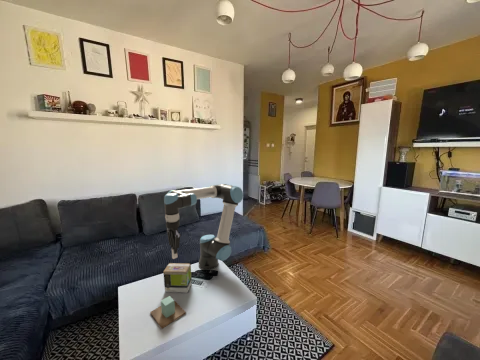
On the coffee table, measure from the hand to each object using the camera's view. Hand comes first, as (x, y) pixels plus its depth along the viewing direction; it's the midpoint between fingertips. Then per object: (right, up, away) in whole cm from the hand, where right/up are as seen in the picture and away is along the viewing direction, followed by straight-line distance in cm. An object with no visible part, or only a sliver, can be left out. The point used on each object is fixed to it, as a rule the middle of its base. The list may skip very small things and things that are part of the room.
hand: (174, 257), depth 124 cm
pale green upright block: (-1, -27, -8) cm, 29 cm away
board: (-1, -28, -8) cm, 29 cm away
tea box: (-2, -25, +13) cm, 28 cm away
